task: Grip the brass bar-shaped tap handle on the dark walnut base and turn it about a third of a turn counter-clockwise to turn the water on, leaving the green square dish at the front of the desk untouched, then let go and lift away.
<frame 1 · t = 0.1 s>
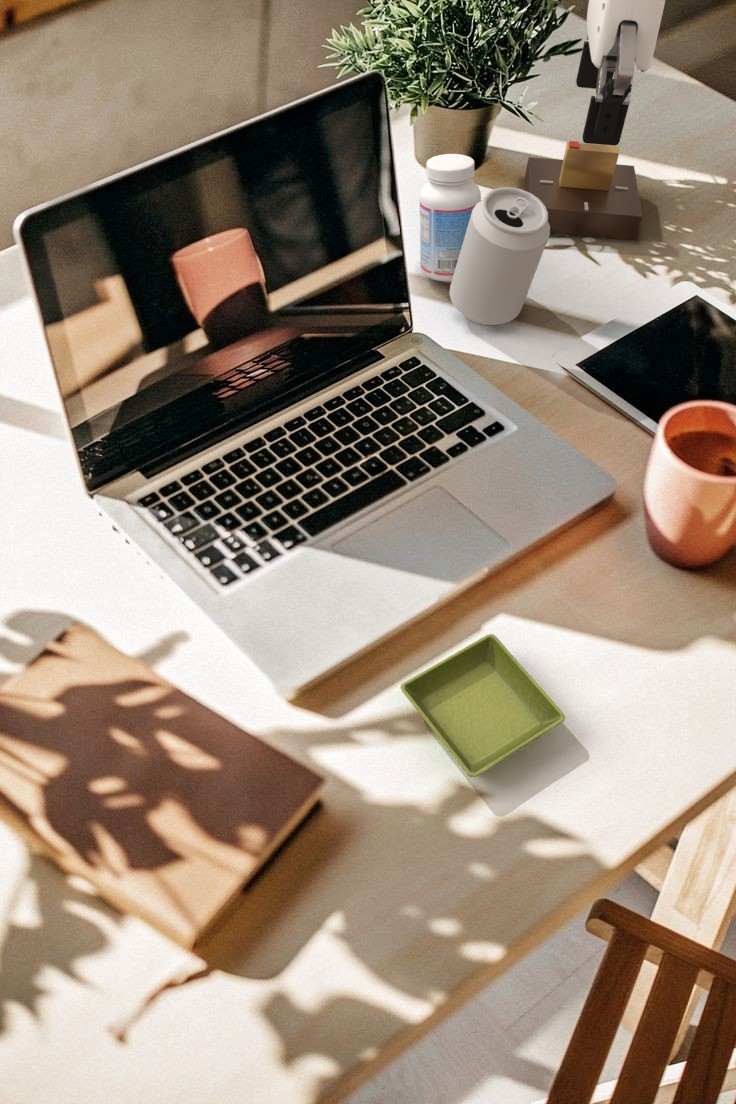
hand: (596, 113, 93), 18 cm above the table, tool pointing down, fingers open, 9 cm apart
pill bottle: (449, 272, 107), on the table, touching can
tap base: (578, 209, 116), on the table
green square dish: (478, 717, 75), on the table
can: (483, 305, 104), on the table, touching pill bottle
tap handle: (588, 165, 112), point 5 cm above the table, hinge at 0.0°
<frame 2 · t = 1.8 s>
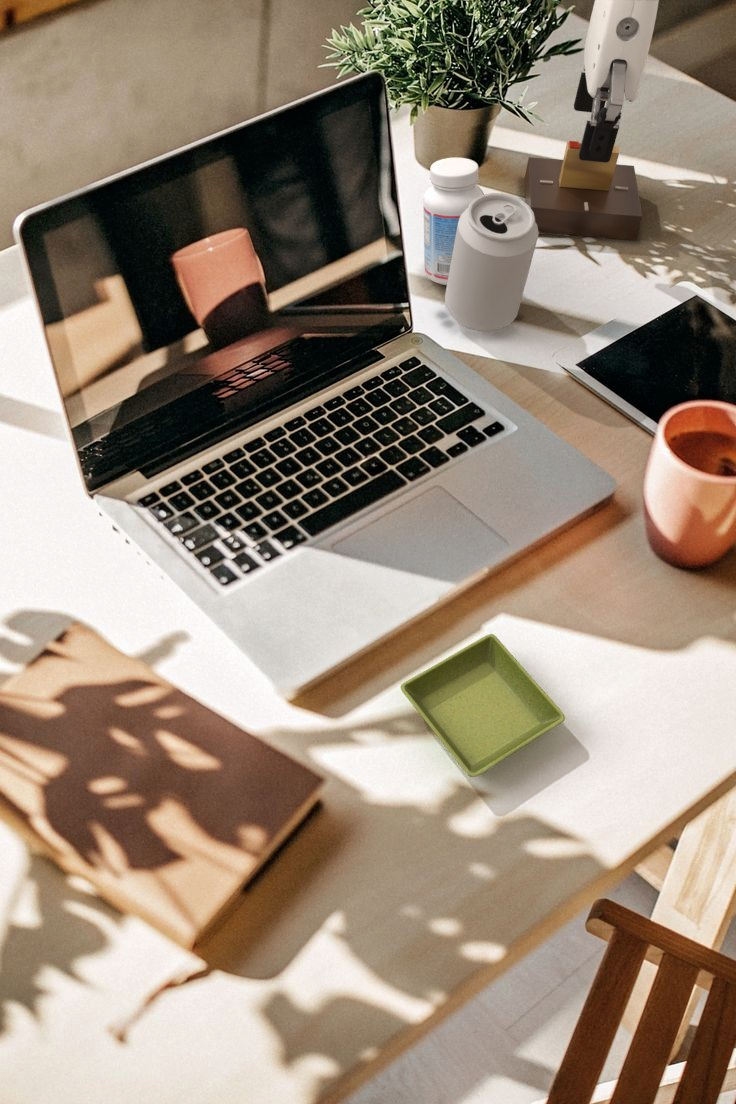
hand: (590, 134, 109), 9 cm above the table, tool pointing down, fingers open, 9 cm apart
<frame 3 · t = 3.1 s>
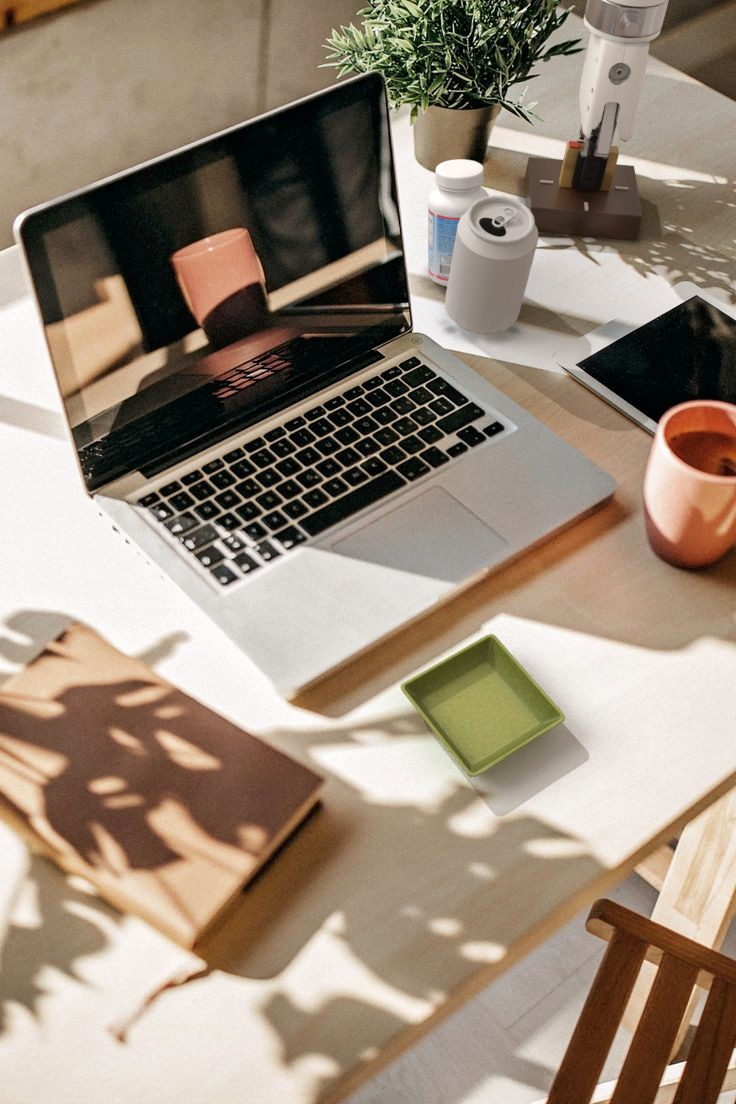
hand: (584, 181, 113), 4 cm above the table, tool pointing down, fingers closed
tap handle: (588, 165, 112), point 5 cm above the table, hinge at 0.0°, touching gripper
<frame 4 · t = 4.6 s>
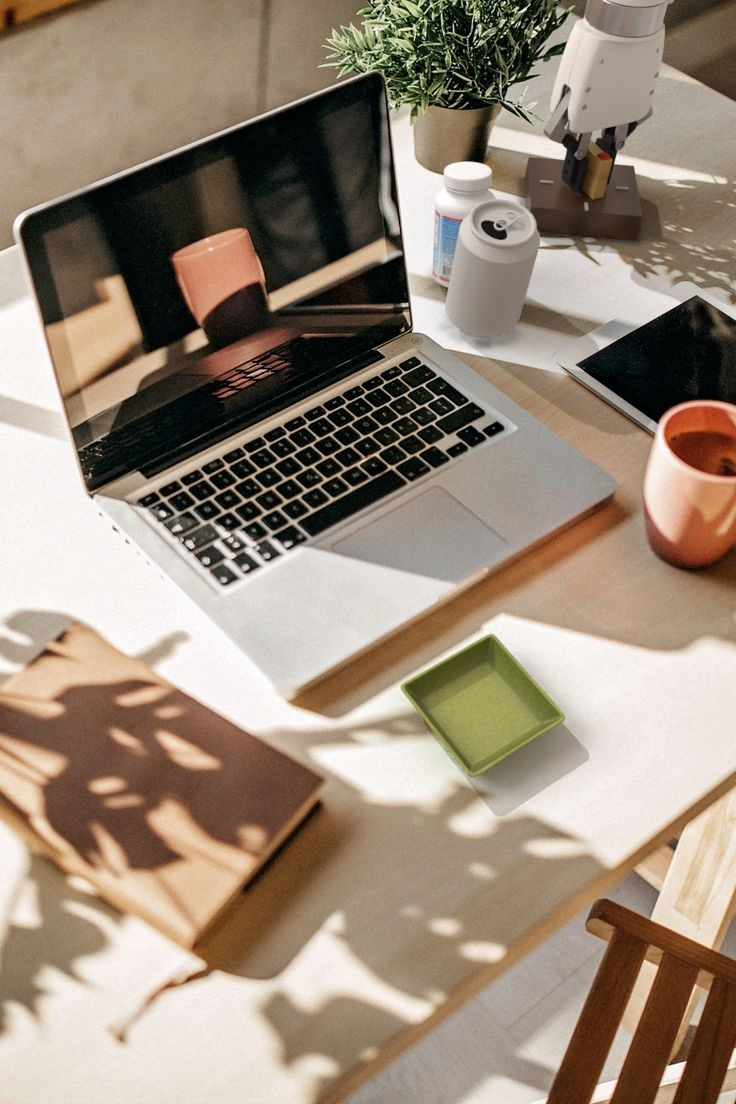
hand: (585, 180, 113), 4 cm above the table, tool pointing down, fingers closed
can: (480, 317, 103), on the table, touching pill bottle
tap handle: (588, 165, 112), point 5 cm above the table, hinge at 119.9°
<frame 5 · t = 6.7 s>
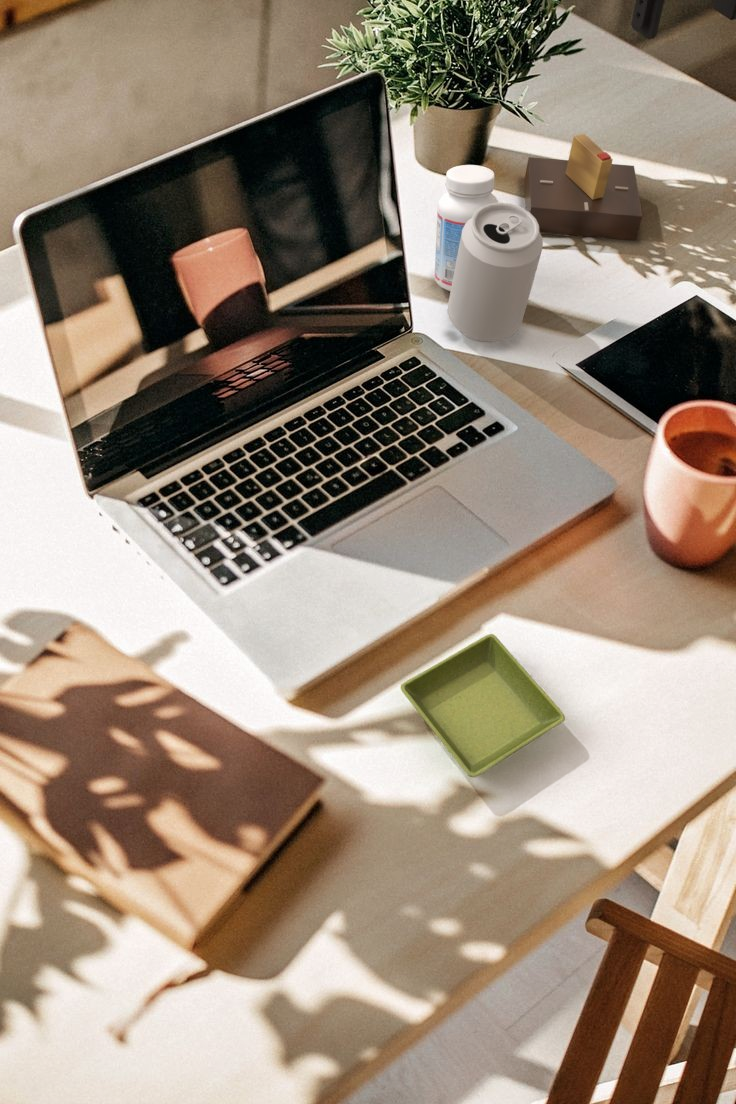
hand: (684, 23, 100), 21 cm above the table, tool pointing down, fingers open, 9 cm apart
can: (483, 321, 103), on the table, touching pill bottle
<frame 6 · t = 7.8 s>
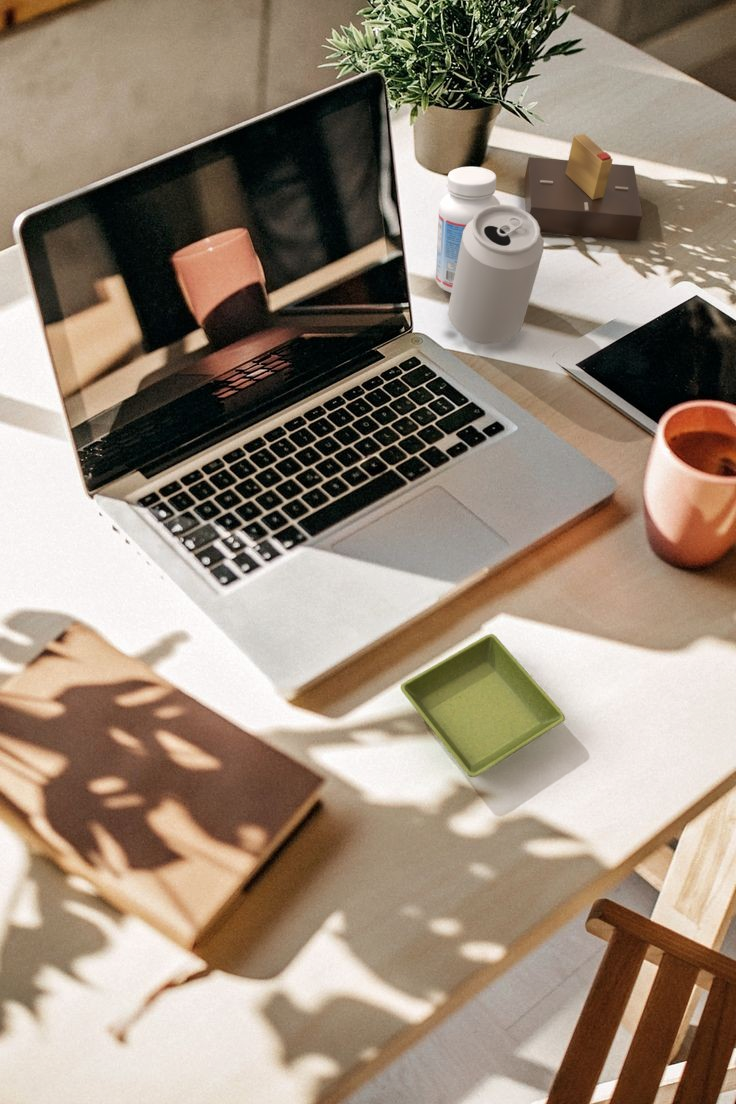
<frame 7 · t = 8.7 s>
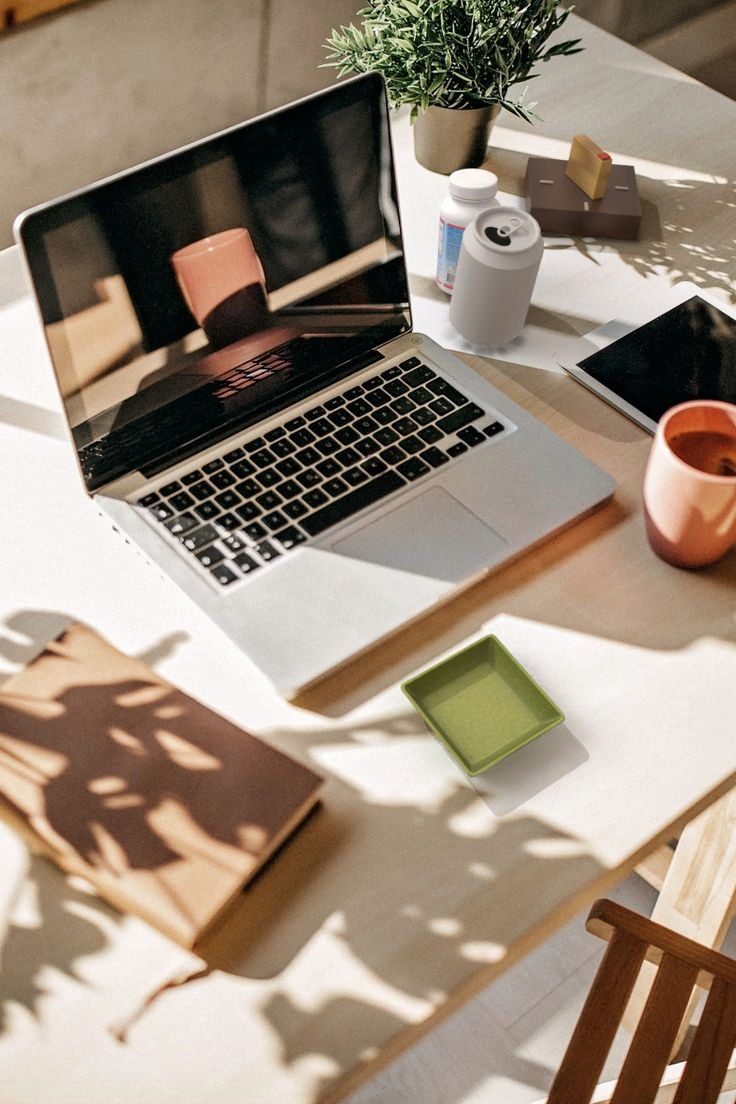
can: (484, 325, 103), on the table, touching pill bottle
at the end: tap handle at +120° (first picture: +0°); green square dish moved 0.2 cm from its start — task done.
